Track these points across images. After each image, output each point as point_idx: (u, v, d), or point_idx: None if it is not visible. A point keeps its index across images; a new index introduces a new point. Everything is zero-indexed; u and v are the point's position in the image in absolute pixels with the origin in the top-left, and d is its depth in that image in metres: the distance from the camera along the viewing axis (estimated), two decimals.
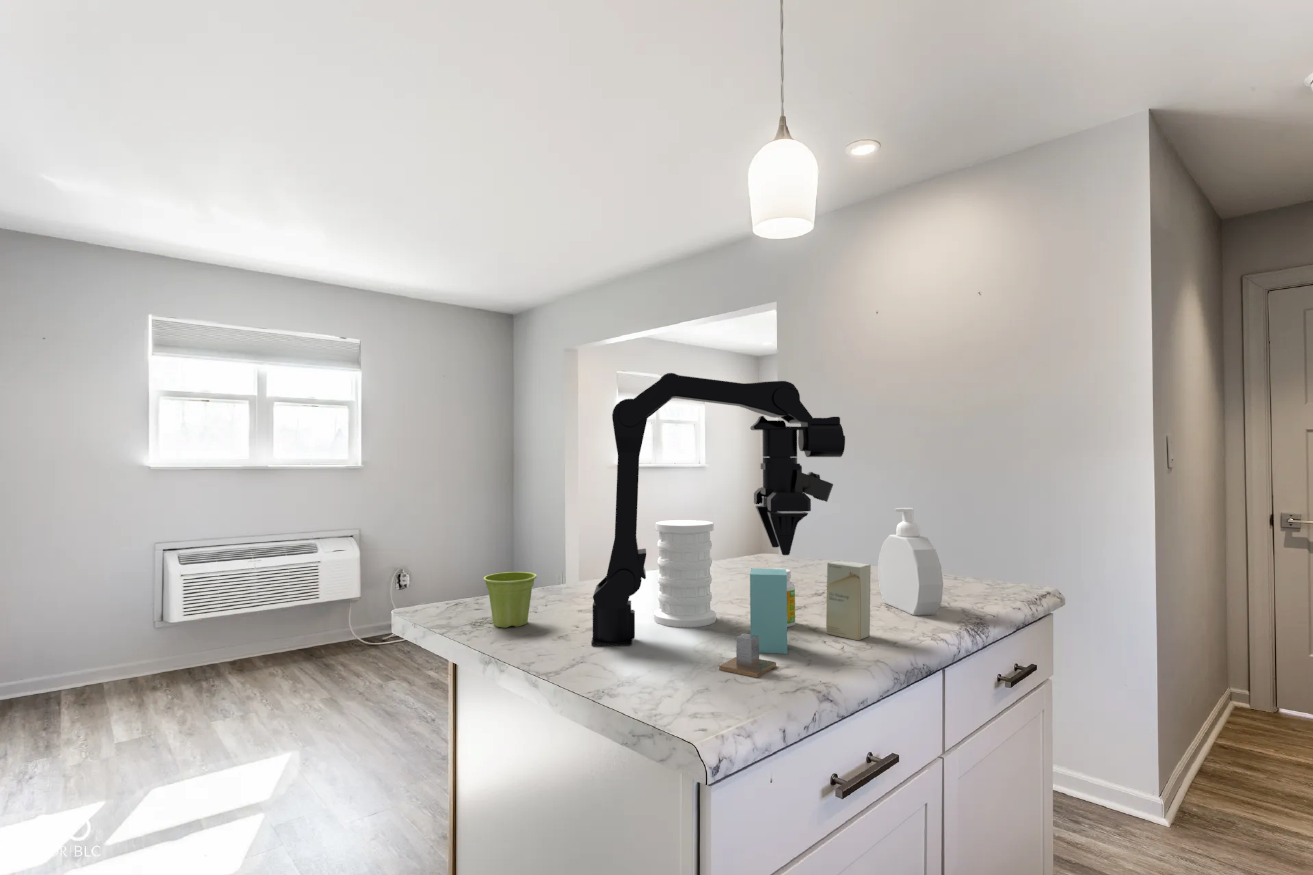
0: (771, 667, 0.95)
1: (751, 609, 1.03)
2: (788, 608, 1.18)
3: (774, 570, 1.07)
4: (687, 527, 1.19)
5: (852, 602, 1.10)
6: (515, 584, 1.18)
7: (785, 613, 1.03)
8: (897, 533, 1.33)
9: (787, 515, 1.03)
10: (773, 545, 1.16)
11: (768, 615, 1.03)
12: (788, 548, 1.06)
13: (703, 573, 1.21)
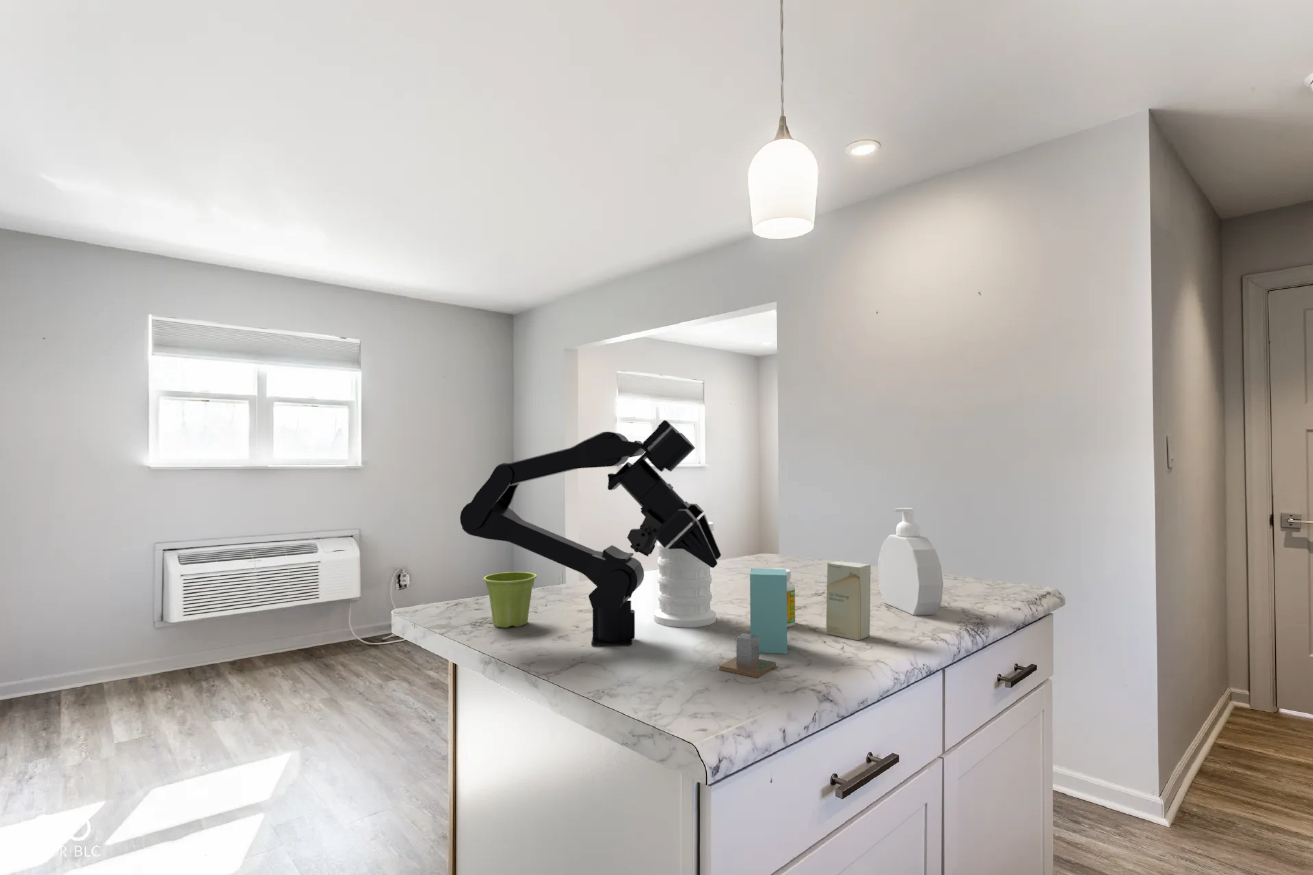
0: (771, 667, 0.95)
1: (751, 609, 1.03)
2: (788, 608, 1.18)
3: (774, 570, 1.07)
4: None
5: (852, 602, 1.10)
6: (515, 584, 1.18)
7: (785, 613, 1.03)
8: (897, 533, 1.33)
9: None
10: None
11: (768, 615, 1.03)
12: (713, 553, 1.13)
13: (703, 573, 1.21)
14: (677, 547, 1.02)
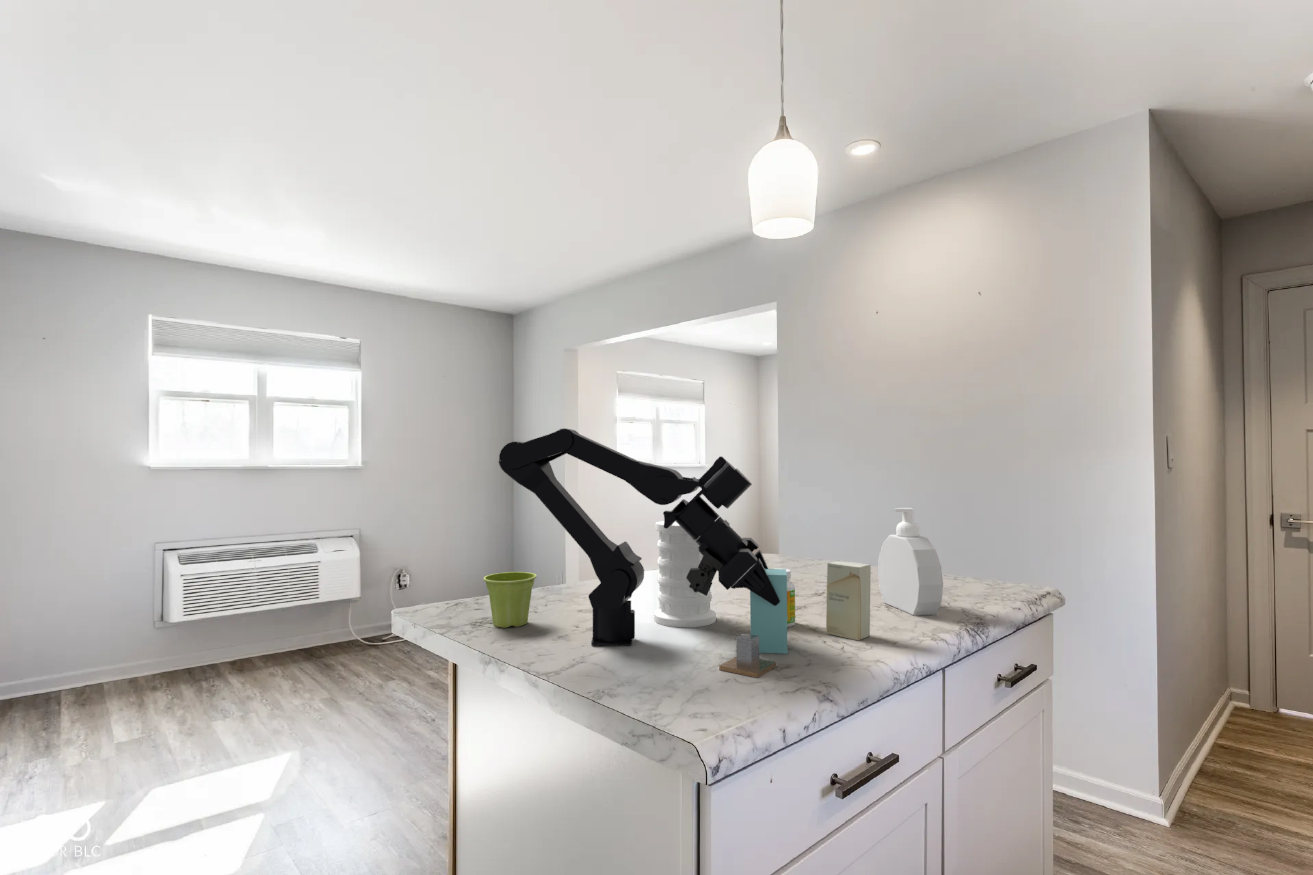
0: (771, 667, 0.95)
1: (751, 609, 1.03)
2: (788, 608, 1.18)
3: (774, 570, 1.07)
4: None
5: (852, 602, 1.10)
6: (515, 584, 1.18)
7: (785, 613, 1.03)
8: (897, 533, 1.33)
9: None
10: None
11: (768, 615, 1.03)
12: None
13: None
14: (740, 586, 1.01)
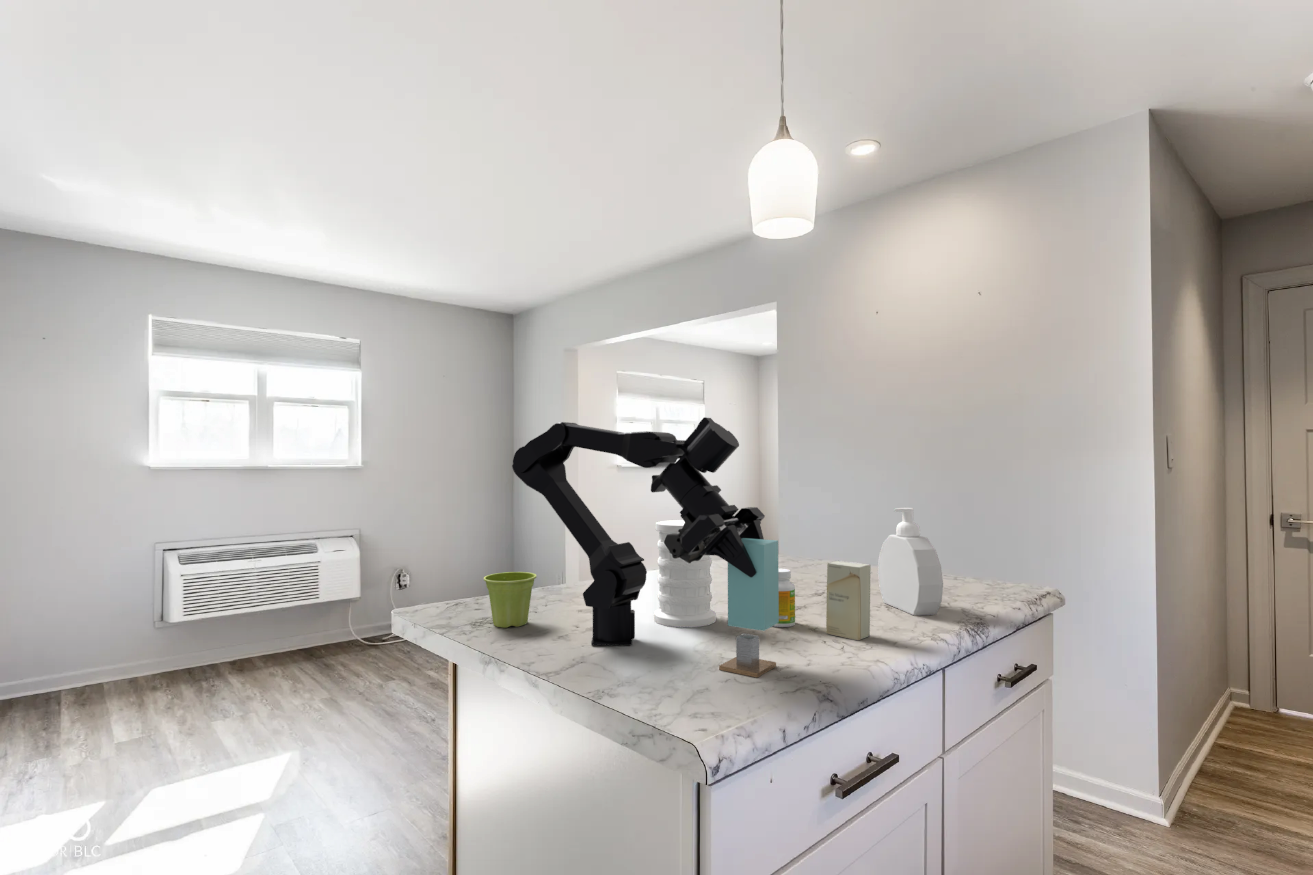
0: (771, 667, 0.95)
1: (728, 580, 0.96)
2: (788, 608, 1.18)
3: (762, 540, 0.98)
4: None
5: (852, 602, 1.10)
6: (515, 584, 1.18)
7: (762, 586, 0.94)
8: (897, 533, 1.33)
9: None
10: None
11: (745, 587, 0.95)
12: None
13: (703, 573, 1.21)
14: (710, 553, 0.95)
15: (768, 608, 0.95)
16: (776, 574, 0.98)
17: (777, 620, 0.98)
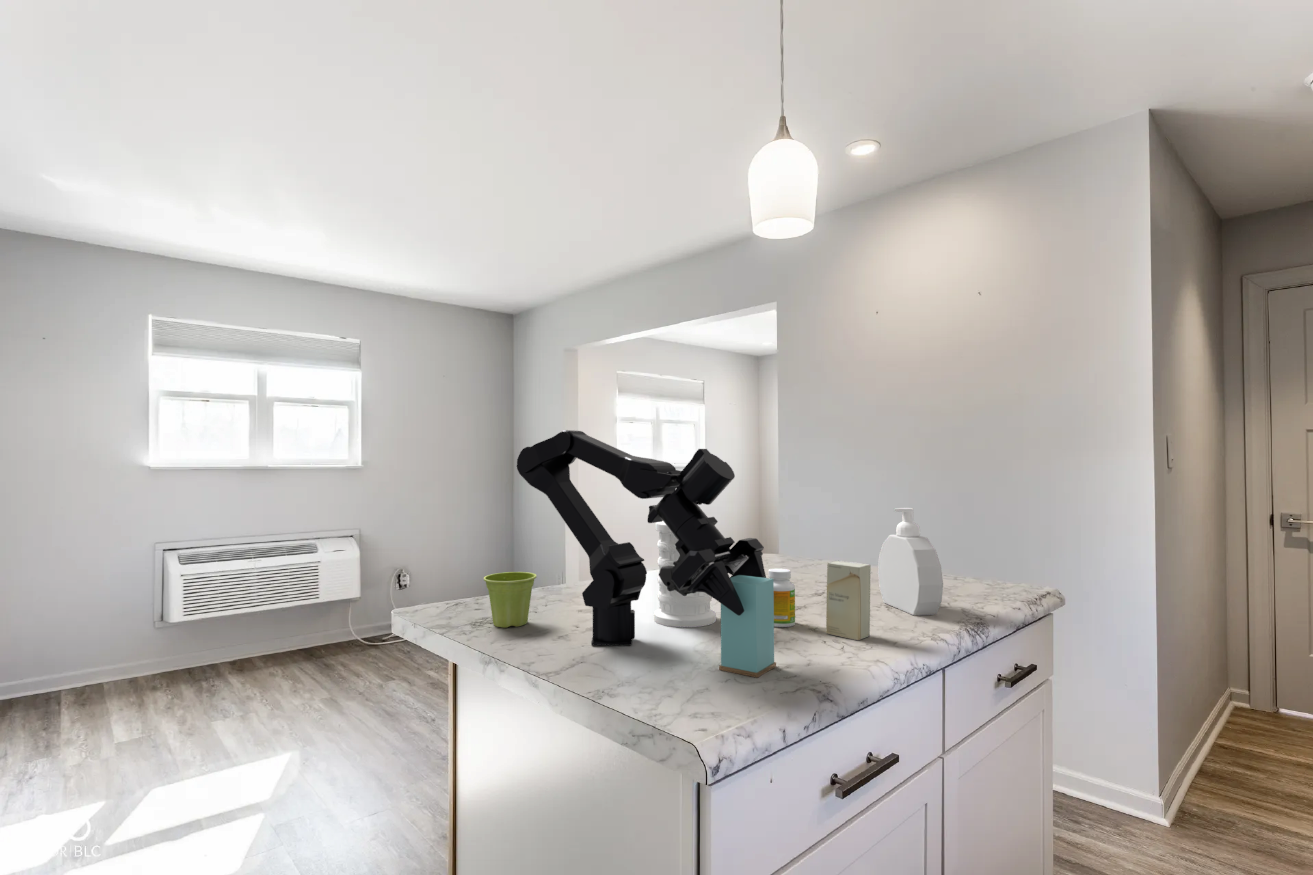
0: (771, 667, 0.95)
1: (721, 619, 0.95)
2: (788, 608, 1.18)
3: (757, 579, 0.96)
4: None
5: (852, 602, 1.10)
6: (515, 584, 1.18)
7: (754, 627, 0.92)
8: (897, 533, 1.33)
9: None
10: None
11: (738, 627, 0.93)
12: None
13: None
14: (698, 590, 0.93)
15: (761, 649, 0.93)
16: (771, 614, 0.96)
17: (773, 660, 0.96)
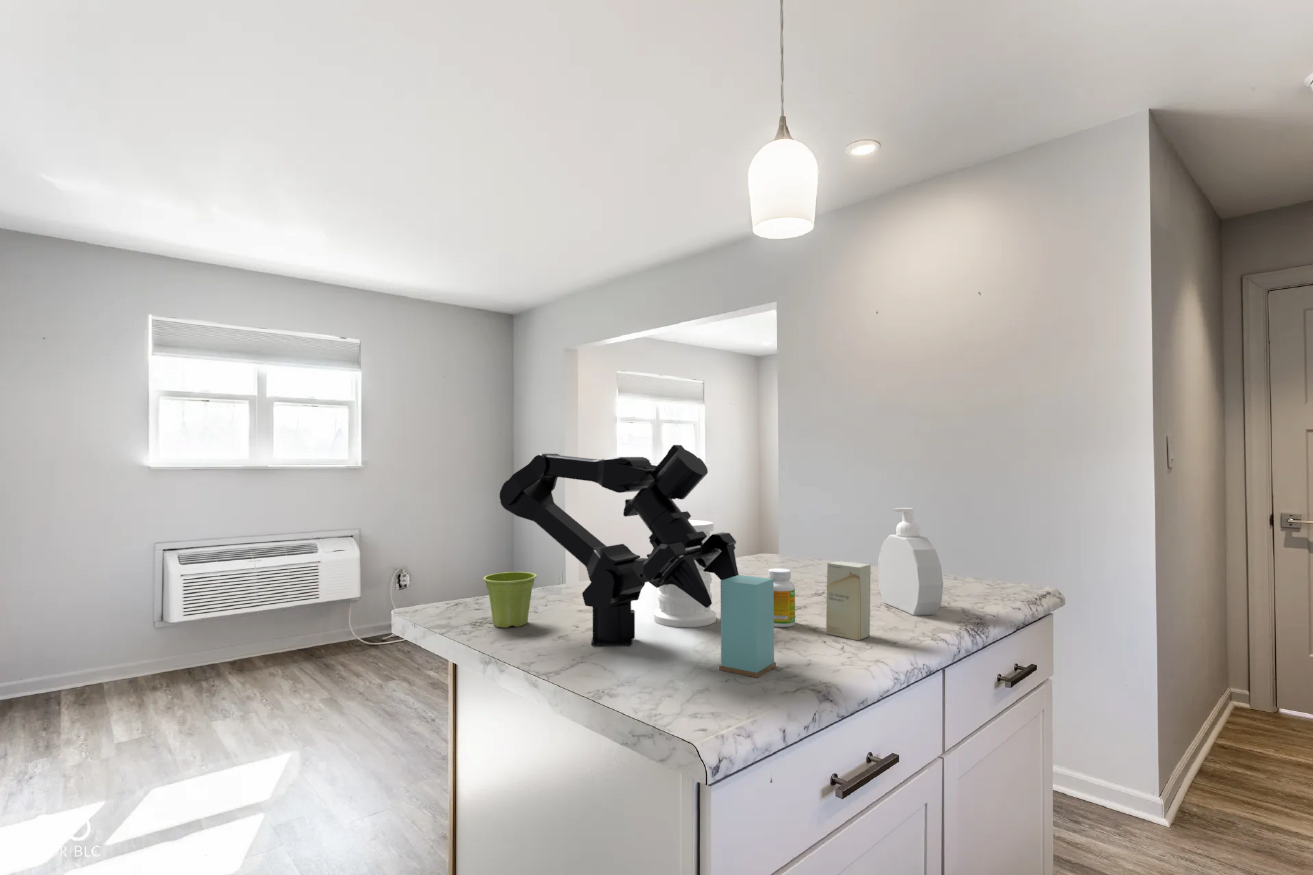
0: (771, 667, 0.95)
1: (721, 619, 0.95)
2: (788, 608, 1.18)
3: (757, 579, 0.96)
4: None
5: (852, 602, 1.10)
6: (515, 584, 1.18)
7: (754, 627, 0.92)
8: (897, 533, 1.33)
9: None
10: None
11: (738, 627, 0.93)
12: None
13: (703, 573, 1.21)
14: (667, 582, 0.96)
15: (761, 649, 0.93)
16: (771, 614, 0.96)
17: (773, 660, 0.96)
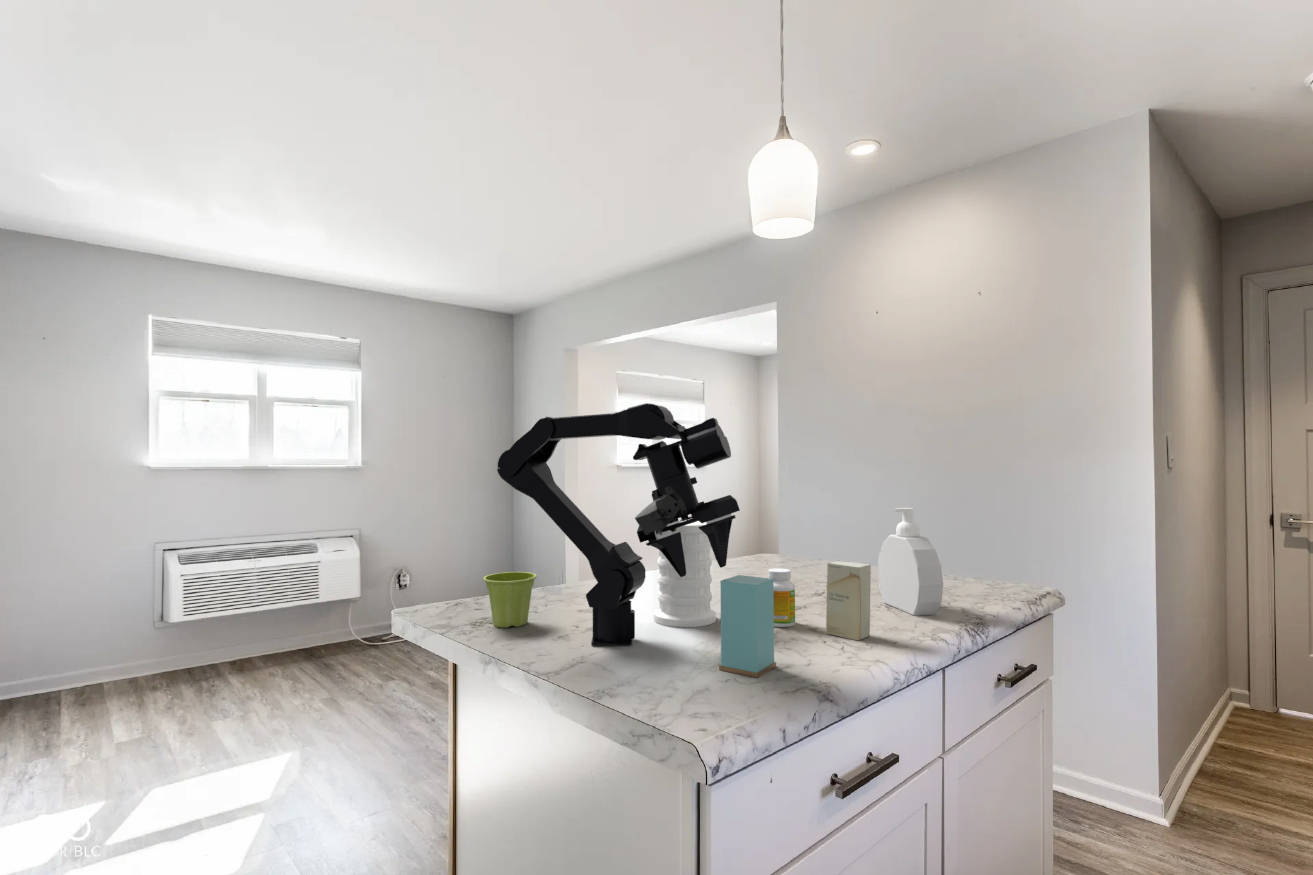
0: (771, 667, 0.95)
1: (721, 619, 0.95)
2: (788, 608, 1.18)
3: (757, 579, 0.96)
4: (687, 527, 1.19)
5: (852, 602, 1.10)
6: (515, 584, 1.18)
7: (754, 627, 0.92)
8: (897, 533, 1.33)
9: None
10: None
11: (738, 627, 0.93)
12: None
13: (703, 573, 1.21)
14: (712, 528, 1.00)
15: (761, 649, 0.93)
16: (771, 614, 0.96)
17: (773, 660, 0.96)
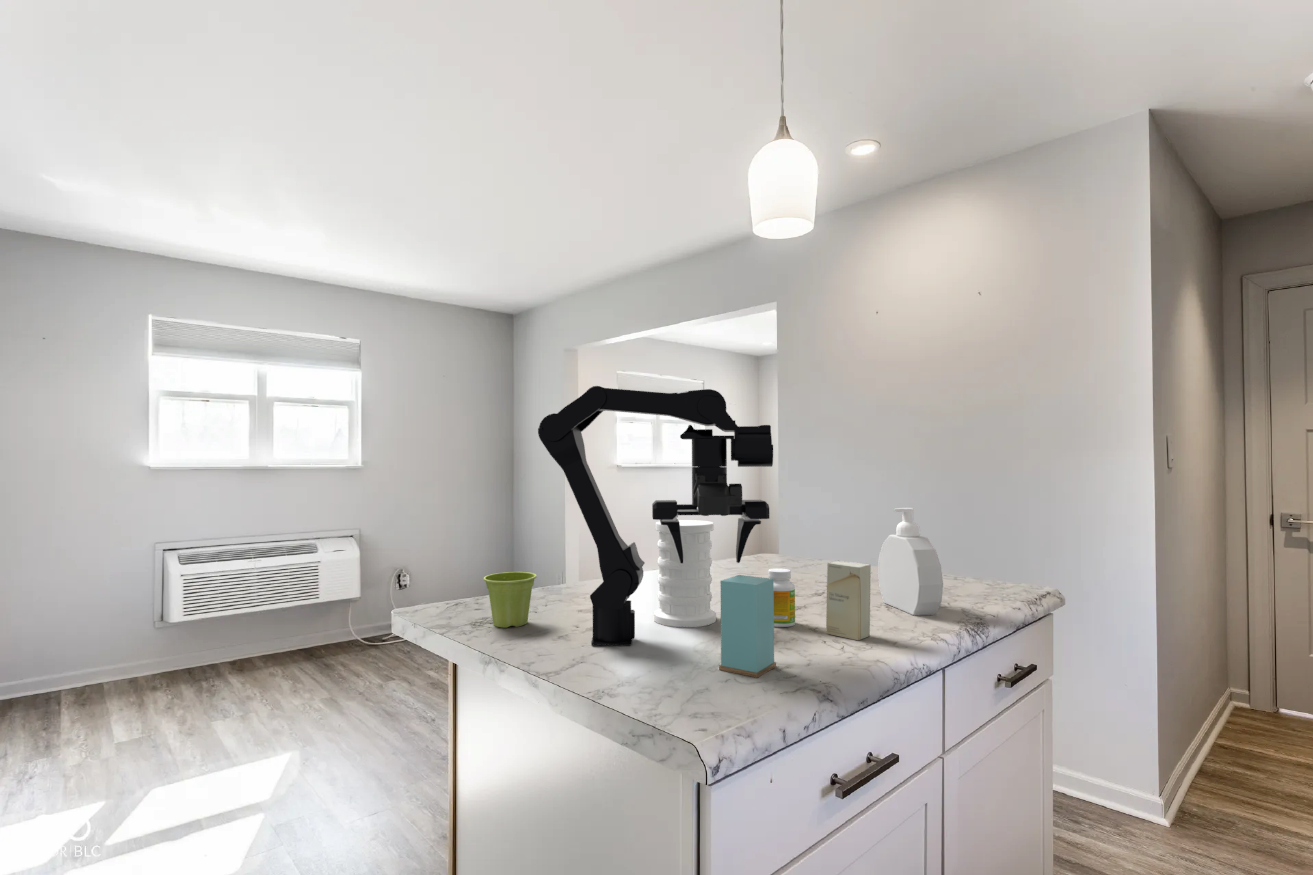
0: (771, 667, 0.95)
1: (721, 619, 0.95)
2: (788, 608, 1.18)
3: (757, 579, 0.96)
4: (687, 527, 1.19)
5: (852, 602, 1.10)
6: (515, 584, 1.18)
7: (754, 627, 0.92)
8: (897, 533, 1.33)
9: (660, 522, 1.09)
10: (736, 560, 1.09)
11: (738, 627, 0.93)
12: None
13: (703, 573, 1.21)
14: (753, 526, 1.07)
15: (761, 649, 0.93)
16: (771, 614, 0.96)
17: (773, 660, 0.96)
